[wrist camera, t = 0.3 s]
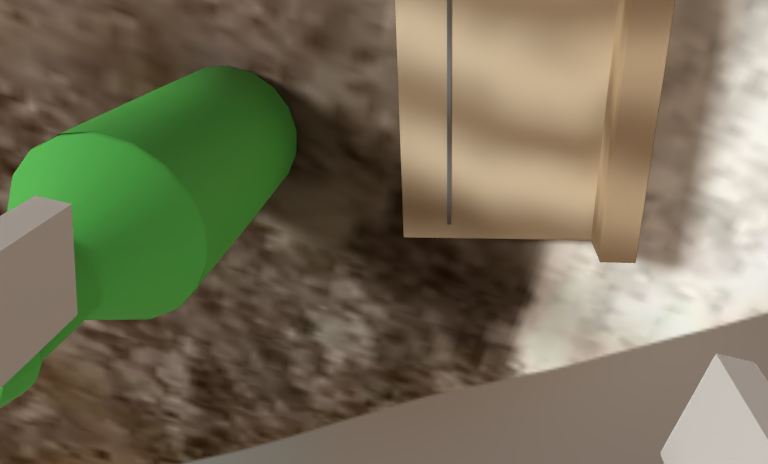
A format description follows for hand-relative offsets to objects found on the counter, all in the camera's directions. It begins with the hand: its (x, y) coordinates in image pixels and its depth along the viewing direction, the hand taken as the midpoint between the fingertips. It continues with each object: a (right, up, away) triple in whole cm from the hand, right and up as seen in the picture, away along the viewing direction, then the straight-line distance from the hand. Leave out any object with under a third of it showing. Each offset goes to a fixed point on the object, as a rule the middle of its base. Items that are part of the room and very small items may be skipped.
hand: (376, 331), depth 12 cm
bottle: (-10, +9, +27) cm, 30 cm away
